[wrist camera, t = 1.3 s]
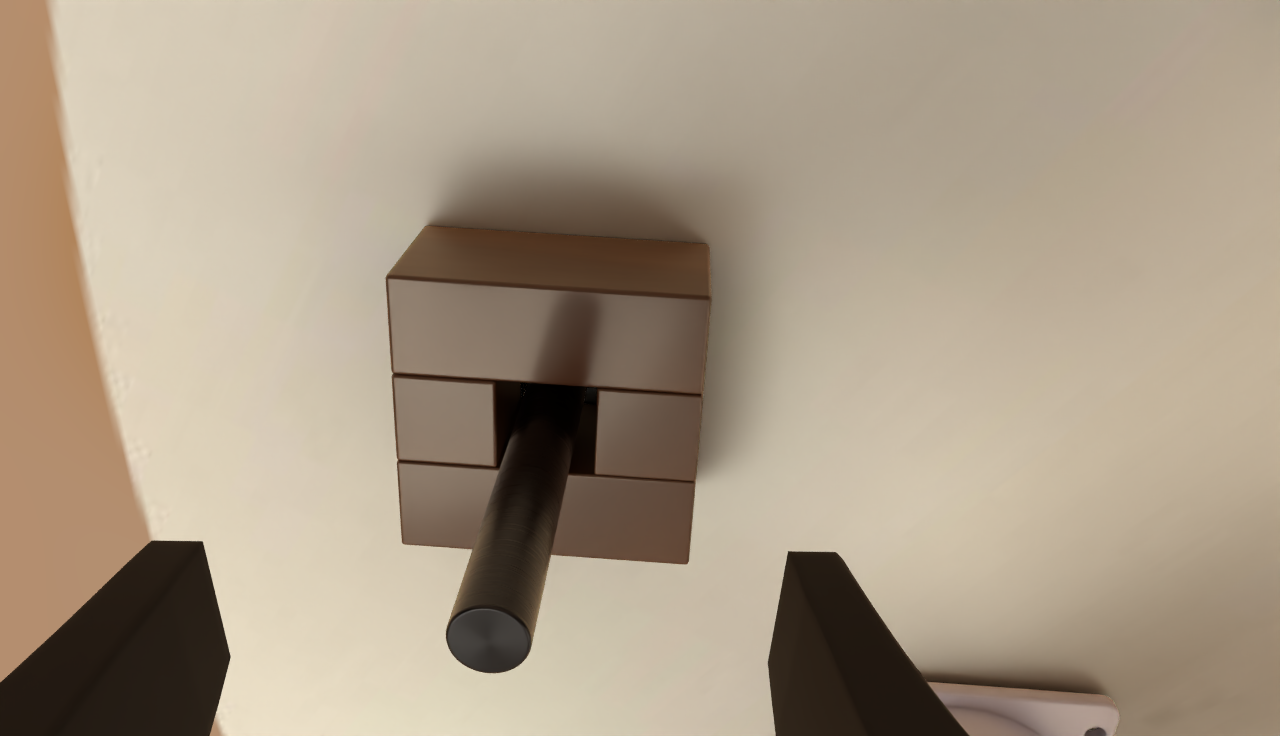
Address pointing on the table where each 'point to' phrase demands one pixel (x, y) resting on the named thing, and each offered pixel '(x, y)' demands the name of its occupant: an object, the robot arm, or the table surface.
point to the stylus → (517, 534)
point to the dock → (551, 380)
